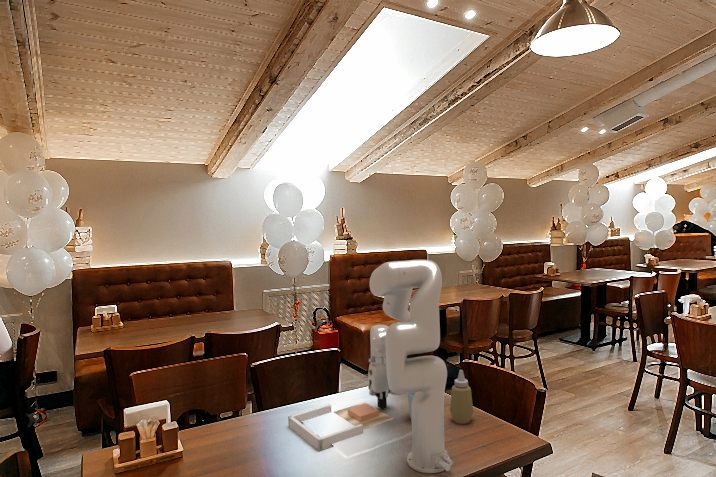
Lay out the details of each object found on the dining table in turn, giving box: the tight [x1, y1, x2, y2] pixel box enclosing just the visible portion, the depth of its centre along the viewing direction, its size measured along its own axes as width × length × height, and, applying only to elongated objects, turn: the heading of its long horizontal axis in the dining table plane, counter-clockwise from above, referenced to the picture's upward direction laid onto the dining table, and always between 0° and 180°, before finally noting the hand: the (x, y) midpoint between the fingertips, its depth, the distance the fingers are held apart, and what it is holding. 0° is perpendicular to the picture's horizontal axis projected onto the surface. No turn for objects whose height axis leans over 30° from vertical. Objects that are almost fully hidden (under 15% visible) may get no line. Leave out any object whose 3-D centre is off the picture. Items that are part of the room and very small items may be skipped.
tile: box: [348, 402, 380, 422], centre depth 171 cm, size 8×8×2 cm
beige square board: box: [333, 401, 395, 431], centre depth 171 cm, size 18×14×1 cm
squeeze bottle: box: [449, 369, 474, 425], centre depth 166 cm, size 8×8×18 cm
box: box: [287, 404, 364, 452], centre depth 162 cm, size 21×17×4 cm
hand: (382, 407), depth 176 cm, fingers closed
